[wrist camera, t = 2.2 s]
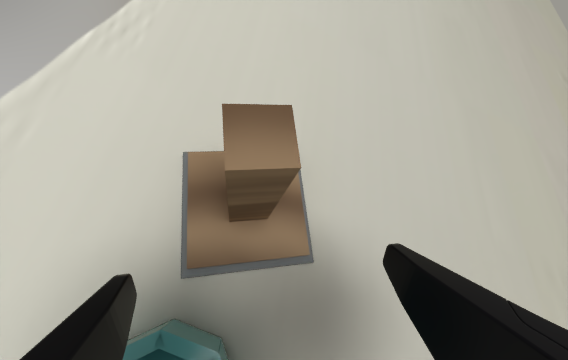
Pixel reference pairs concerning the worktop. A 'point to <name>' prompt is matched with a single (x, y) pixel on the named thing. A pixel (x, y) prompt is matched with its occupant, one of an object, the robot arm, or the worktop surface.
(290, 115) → the brown upright piece
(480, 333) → the robot arm
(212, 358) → the bowl
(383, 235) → the worktop surface
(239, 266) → the mat
